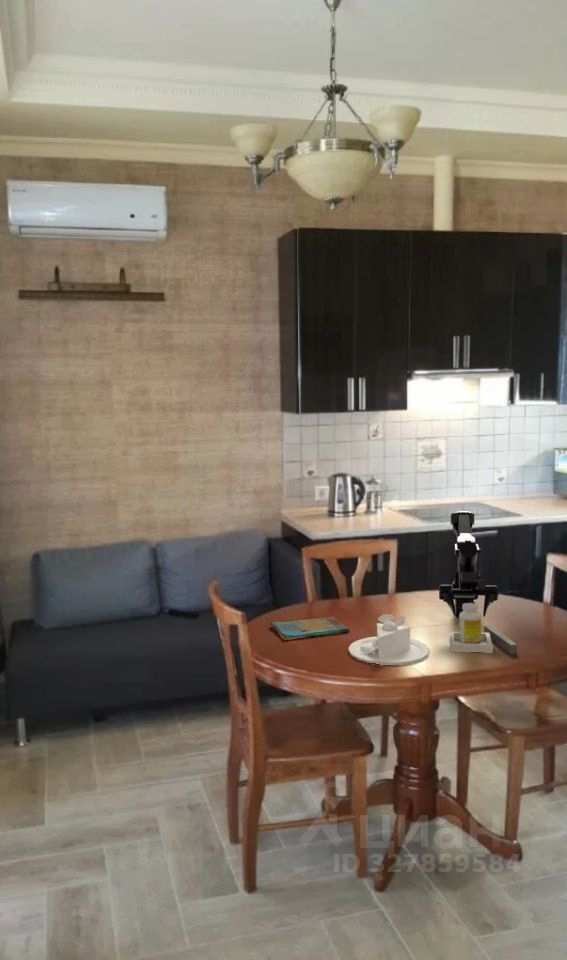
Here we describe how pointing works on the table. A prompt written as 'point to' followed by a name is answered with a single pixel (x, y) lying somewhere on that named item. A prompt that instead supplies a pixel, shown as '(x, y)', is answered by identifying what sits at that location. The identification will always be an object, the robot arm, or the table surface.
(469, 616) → the supplement bottle
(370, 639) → the dish
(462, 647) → the square cradle
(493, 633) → the long gray bar
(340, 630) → the dish towel
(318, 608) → the table surface
